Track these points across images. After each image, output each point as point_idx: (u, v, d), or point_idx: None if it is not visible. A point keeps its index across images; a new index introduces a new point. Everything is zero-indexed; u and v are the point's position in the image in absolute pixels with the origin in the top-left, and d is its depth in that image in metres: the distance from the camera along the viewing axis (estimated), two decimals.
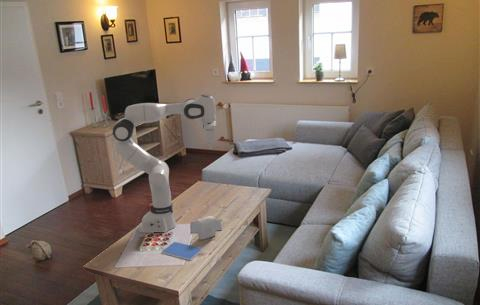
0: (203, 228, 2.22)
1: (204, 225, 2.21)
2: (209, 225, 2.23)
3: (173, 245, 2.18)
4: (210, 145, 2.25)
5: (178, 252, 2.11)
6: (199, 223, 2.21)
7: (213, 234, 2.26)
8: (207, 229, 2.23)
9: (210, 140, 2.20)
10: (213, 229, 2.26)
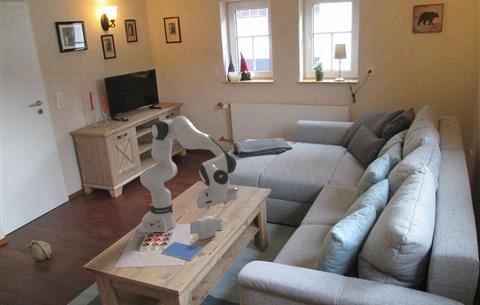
0: (203, 228, 2.22)
1: (204, 225, 2.21)
2: (209, 225, 2.23)
3: (173, 245, 2.18)
4: None
5: (178, 252, 2.11)
6: (199, 223, 2.21)
7: (213, 234, 2.26)
8: (207, 229, 2.23)
9: (197, 204, 1.96)
10: (213, 229, 2.26)
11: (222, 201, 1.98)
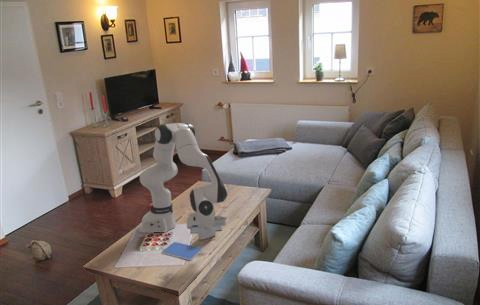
0: (203, 228, 2.22)
1: None
2: None
3: (173, 245, 2.18)
4: None
5: (178, 252, 2.11)
6: None
7: (213, 234, 2.26)
8: (207, 229, 2.23)
9: None
10: (213, 229, 2.26)
11: (210, 226, 2.04)
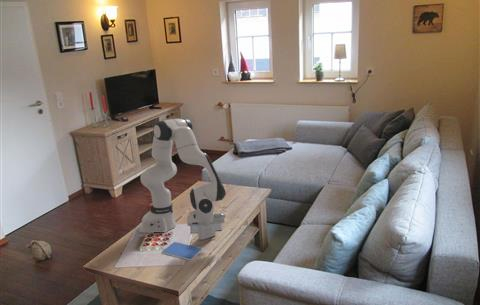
0: (203, 228, 2.22)
1: None
2: (209, 225, 2.23)
3: (173, 245, 2.18)
4: None
5: (178, 252, 2.11)
6: None
7: (213, 234, 2.26)
8: (207, 229, 2.23)
9: None
10: (213, 229, 2.26)
11: None
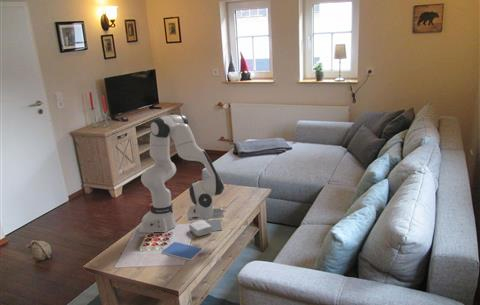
0: (194, 225, 2.31)
1: (194, 223, 2.33)
2: (199, 222, 2.34)
3: (173, 245, 2.18)
4: None
5: (178, 252, 2.11)
6: (189, 225, 2.33)
7: (208, 225, 2.30)
8: (199, 224, 2.32)
9: (187, 217, 2.20)
10: (206, 223, 2.32)
11: (209, 217, 2.20)
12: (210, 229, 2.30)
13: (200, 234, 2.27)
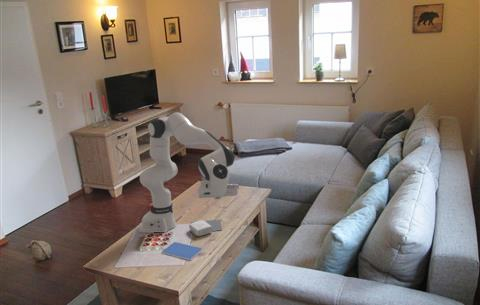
0: (194, 225, 2.31)
1: (194, 223, 2.33)
2: (199, 222, 2.34)
3: (173, 245, 2.18)
4: None
5: (178, 252, 2.11)
6: (189, 225, 2.33)
7: (208, 225, 2.30)
8: (199, 224, 2.32)
9: None
10: (206, 223, 2.33)
11: (222, 195, 2.01)
12: (210, 229, 2.30)
13: (200, 234, 2.27)
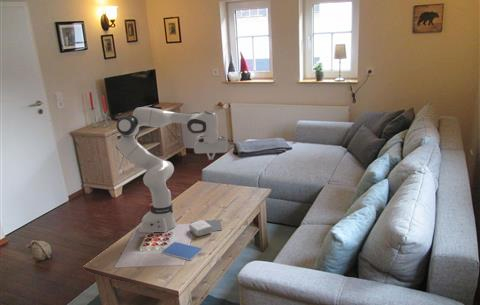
0: (194, 225, 2.31)
1: (194, 223, 2.33)
2: (199, 222, 2.34)
3: (173, 245, 2.18)
4: (208, 156, 2.42)
5: (178, 252, 2.11)
6: (189, 225, 2.33)
7: (208, 225, 2.30)
8: (199, 224, 2.32)
9: (194, 150, 2.40)
10: (206, 223, 2.33)
11: (214, 149, 2.39)
12: (210, 229, 2.30)
13: (200, 234, 2.27)
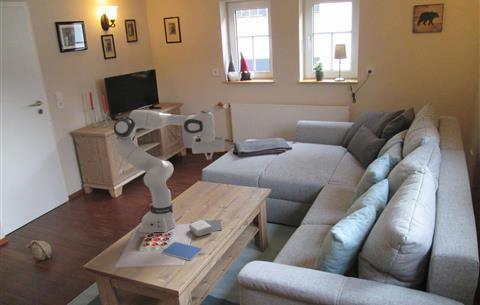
0: (194, 225, 2.31)
1: (194, 223, 2.33)
2: (199, 222, 2.34)
3: (173, 245, 2.18)
4: None
5: (178, 252, 2.11)
6: (189, 225, 2.33)
7: (208, 225, 2.30)
8: (199, 224, 2.32)
9: (192, 150, 2.41)
10: (206, 223, 2.33)
11: (212, 149, 2.41)
12: (210, 229, 2.30)
13: (200, 234, 2.27)
